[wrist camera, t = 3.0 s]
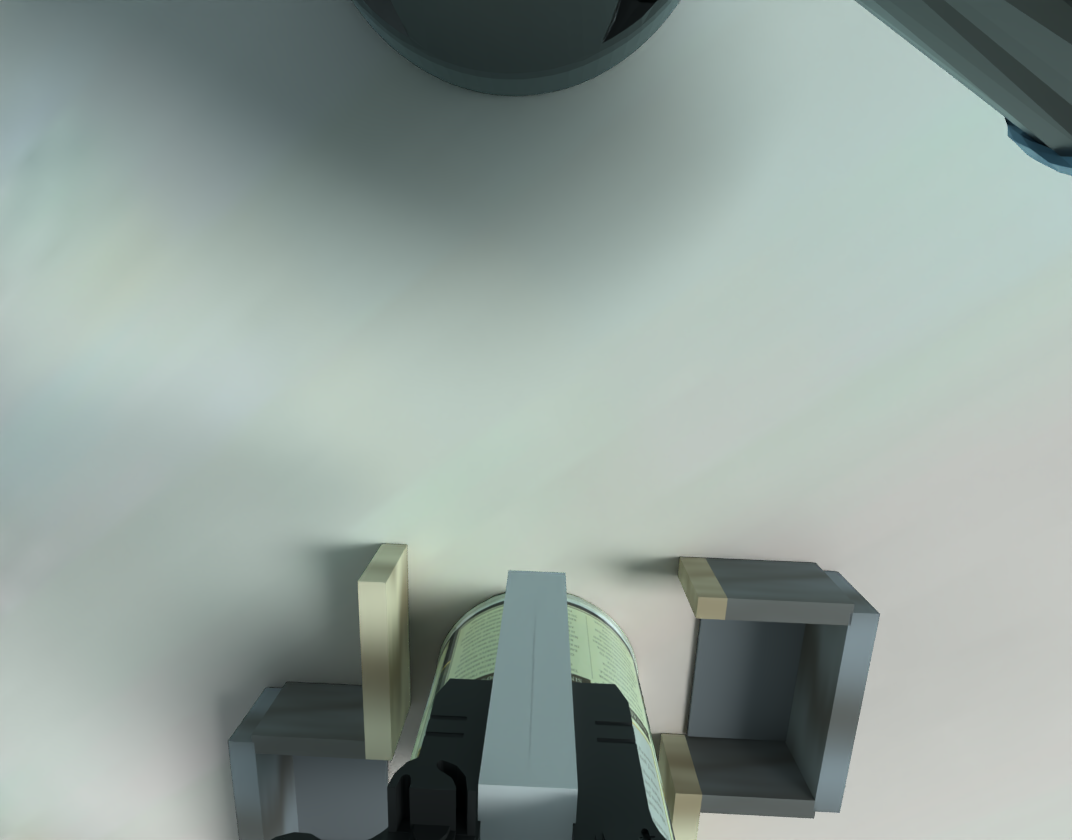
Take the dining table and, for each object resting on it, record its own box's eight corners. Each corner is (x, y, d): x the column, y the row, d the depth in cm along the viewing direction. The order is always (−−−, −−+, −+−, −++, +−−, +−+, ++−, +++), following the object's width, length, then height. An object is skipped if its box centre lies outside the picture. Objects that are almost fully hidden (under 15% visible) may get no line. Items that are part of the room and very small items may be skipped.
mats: (278, 559, 27) (276, 561, 27) (810, 583, 27) (812, 586, 27) (300, 834, 31) (299, 838, 31) (764, 860, 31) (765, 863, 31)
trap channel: (252, 537, 27) (208, 574, 24) (839, 563, 26) (881, 605, 23) (287, 917, 33) (256, 990, 29) (771, 944, 32) (797, 1022, 29)
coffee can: (666, 729, 29) (768, 1128, 15) (481, 782, 30) (422, 1199, 16) (600, 557, 27) (651, 845, 13) (404, 622, 28) (262, 948, 14)
